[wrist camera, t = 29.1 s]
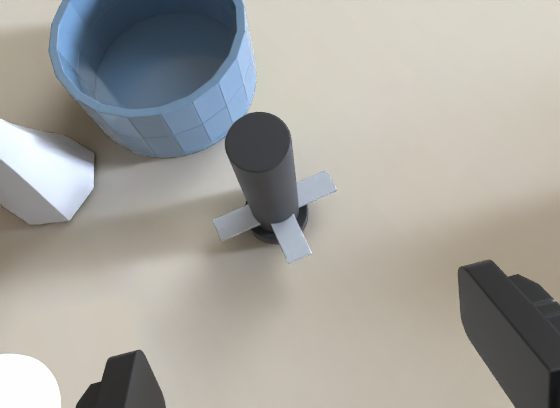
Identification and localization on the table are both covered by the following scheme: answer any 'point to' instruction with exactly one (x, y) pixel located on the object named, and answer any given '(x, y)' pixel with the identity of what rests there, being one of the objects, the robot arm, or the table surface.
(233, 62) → the processor bowl
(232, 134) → the chopping blade
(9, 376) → the water bottle
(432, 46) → the table surface
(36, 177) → the flask
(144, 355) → the robot arm
